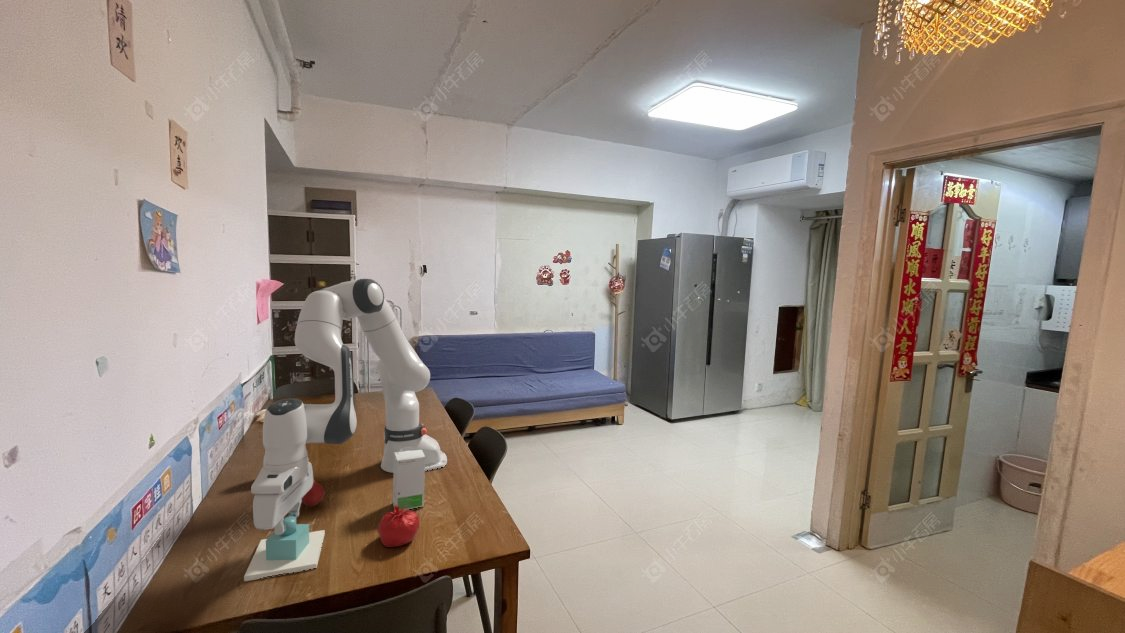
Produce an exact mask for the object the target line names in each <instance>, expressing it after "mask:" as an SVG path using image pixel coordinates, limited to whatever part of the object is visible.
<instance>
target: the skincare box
mask: <svg viewBox="0 0 1125 633" xmlns="http://www.w3.org/2000/svg"><path fill="white" fill-rule="evenodd" d="M425 473H426V471H425V455H424V453H423V451H422V450H413V451H404V452H395V453H394V473H393V477H392V478H393V482H392V483H393V484H392V504H393V507H395V506H396V505H397V506H399V510H401V509H402V508H403V507H405V506H407V507H405V508H404V510H407V509H408V510H409V509H412V508H417V507H421V506H424V507H425V481H426V480H425V476H426V475H425ZM417 509H418V508H417ZM412 510H413V509H412Z"/></svg>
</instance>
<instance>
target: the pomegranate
mask: <svg viewBox="0 0 1125 633" xmlns="http://www.w3.org/2000/svg"><path fill="white" fill-rule="evenodd" d="M405 507H407V506H405ZM405 507H403V508H402V509H401V510H399V506H397V505H396V506H395V507H394V506H393V511H389V512H386V513H384V515H383V517H382V518H381V519H380V521H379V523H378V527H377V532H378V536H379V538H380V541H381V543H382V545H383V546H385V547H387V548H388V547H389V548H393V547H400V546H403V545H407V544H409V543H410V542H412V541H413V540H414V539H415V537H416V536H417V533H418V531H419V528H420V516H419V515H418V514H417V513H416V512H415V511H414V510H404V508H405Z"/></svg>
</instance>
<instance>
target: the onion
mask: <svg viewBox="0 0 1125 633" xmlns="http://www.w3.org/2000/svg"><path fill="white" fill-rule="evenodd" d="M324 496H325V489H324V487H323V485H321V484H320V483H318V482H316V479H314V478H313V486H312V488H311V489H310V490H309V491H308V492H307V493H306V494H305V495H304V496H303V497H302V501H301V503H303V504H304V505H305V506H309V507H316V505H318V504H319V503H320V502H321V501H322V500H323V498H324Z"/></svg>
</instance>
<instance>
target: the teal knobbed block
mask: <svg viewBox="0 0 1125 633" xmlns="http://www.w3.org/2000/svg"><path fill="white" fill-rule="evenodd" d="M283 524H286V530H285V531H284V533H283V534H281V535H276V534H275V530H274V531H273V532H272V533H271V534H270V535H269V536H268V538H266V539H267V540H266V560H296V559H297V558H298V557H299V555H300V554H301V553H302V551H303V550H304V549H305V547H306V546H307V545H308V544H309V532H310V524H309V523H297V518H296V517H294V516H289V515H288V516H284V520H283Z"/></svg>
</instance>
